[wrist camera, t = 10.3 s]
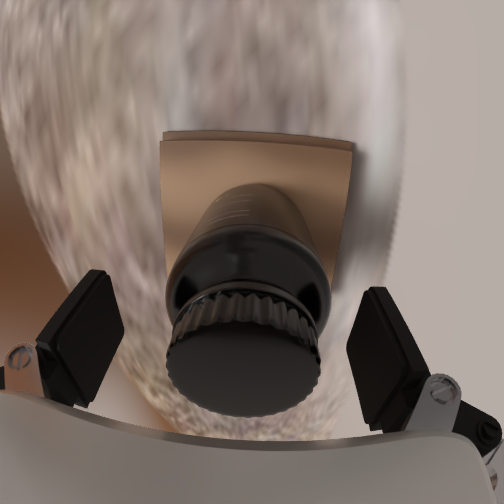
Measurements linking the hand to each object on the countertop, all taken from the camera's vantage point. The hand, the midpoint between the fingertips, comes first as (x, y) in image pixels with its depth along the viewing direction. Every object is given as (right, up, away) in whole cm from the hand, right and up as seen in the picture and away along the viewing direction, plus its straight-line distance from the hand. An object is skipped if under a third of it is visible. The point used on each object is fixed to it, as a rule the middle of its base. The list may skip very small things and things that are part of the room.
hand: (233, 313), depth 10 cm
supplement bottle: (+1, +4, +9) cm, 10 cm away
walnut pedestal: (+1, +5, +12) cm, 12 cm away
